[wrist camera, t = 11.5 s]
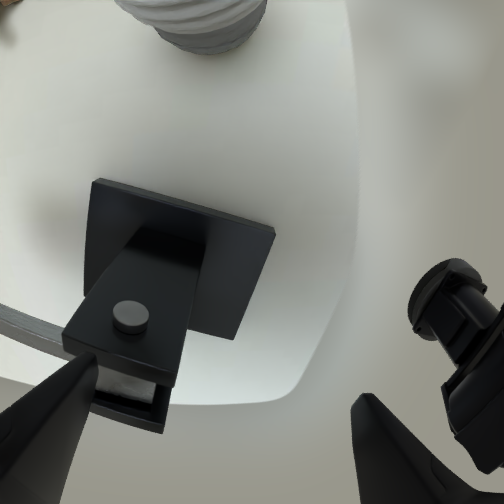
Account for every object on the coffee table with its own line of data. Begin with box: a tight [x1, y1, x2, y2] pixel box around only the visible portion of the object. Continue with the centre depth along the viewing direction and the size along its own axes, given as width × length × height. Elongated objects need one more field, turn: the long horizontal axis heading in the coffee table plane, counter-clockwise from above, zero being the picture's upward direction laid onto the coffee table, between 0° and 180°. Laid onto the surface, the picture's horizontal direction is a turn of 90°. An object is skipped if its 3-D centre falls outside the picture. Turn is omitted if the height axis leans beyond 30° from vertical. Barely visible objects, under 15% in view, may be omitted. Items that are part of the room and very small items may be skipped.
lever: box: [0, 303, 156, 404], centre depth 10 cm, size 13×4×4 cm, turn 71°
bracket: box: [61, 178, 276, 434], centre depth 15 cm, size 12×9×11 cm
